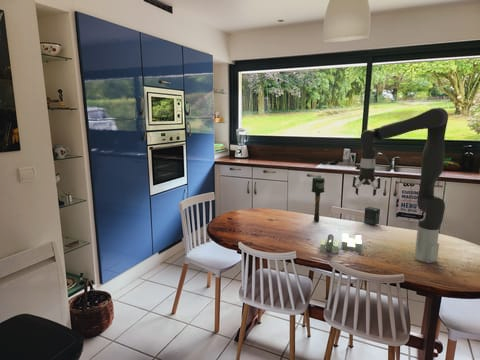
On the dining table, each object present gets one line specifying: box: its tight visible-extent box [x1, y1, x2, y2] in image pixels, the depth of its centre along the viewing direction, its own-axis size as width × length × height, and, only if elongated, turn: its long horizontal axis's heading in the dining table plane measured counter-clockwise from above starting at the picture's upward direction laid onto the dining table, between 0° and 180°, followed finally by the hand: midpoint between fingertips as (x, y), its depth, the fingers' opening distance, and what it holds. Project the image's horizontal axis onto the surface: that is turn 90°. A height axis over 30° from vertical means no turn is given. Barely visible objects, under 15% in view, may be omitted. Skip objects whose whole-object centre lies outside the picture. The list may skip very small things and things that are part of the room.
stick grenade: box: [310, 176, 325, 223], centre depth 216 cm, size 8×9×30 cm
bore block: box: [341, 233, 363, 252], centre depth 179 cm, size 12×10×4 cm
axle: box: [326, 233, 335, 253], centre depth 175 cm, size 18×3×3 cm, turn 161°
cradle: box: [319, 238, 340, 254], centre depth 175 cm, size 8×9×4 cm
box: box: [363, 206, 381, 226], centre depth 214 cm, size 8×6×11 cm
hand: (365, 195), depth 179 cm, fingers open, 8 cm apart
